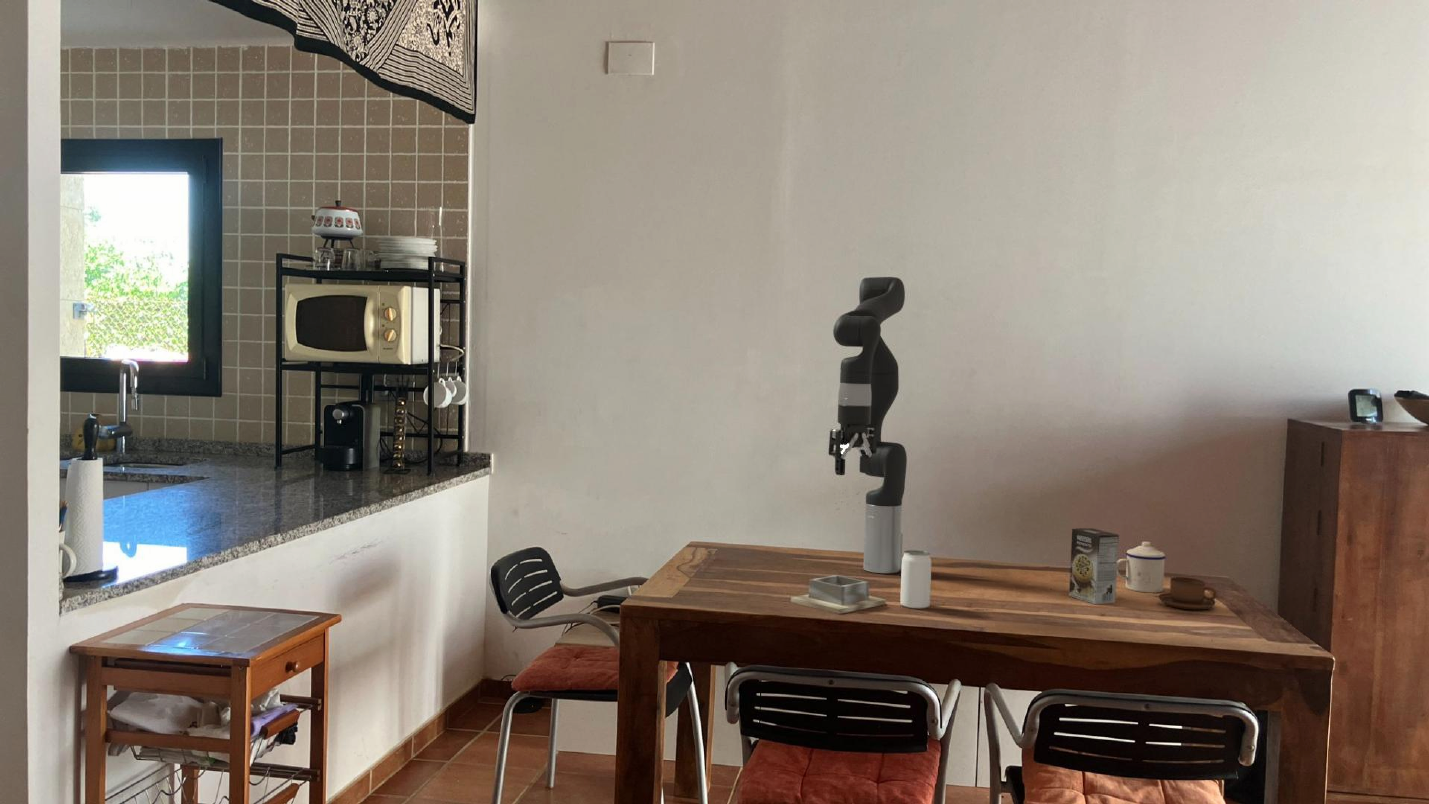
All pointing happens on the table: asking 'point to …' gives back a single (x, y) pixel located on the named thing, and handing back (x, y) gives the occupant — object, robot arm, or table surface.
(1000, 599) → the table surface
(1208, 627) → the table surface
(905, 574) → the can
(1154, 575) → the teacup with lid
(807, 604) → the socket
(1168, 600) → the cup and saucer
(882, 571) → the robot arm
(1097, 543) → the coffee box
